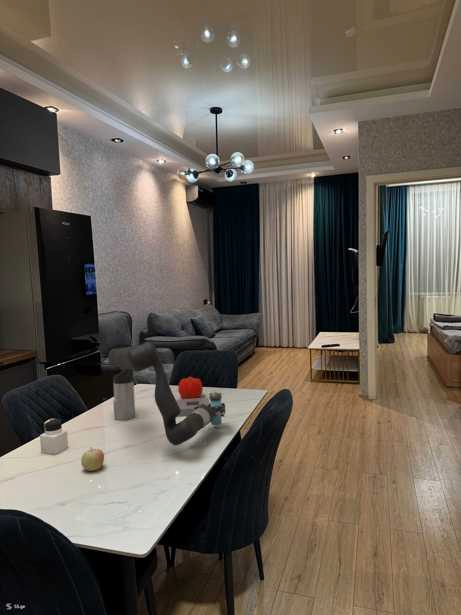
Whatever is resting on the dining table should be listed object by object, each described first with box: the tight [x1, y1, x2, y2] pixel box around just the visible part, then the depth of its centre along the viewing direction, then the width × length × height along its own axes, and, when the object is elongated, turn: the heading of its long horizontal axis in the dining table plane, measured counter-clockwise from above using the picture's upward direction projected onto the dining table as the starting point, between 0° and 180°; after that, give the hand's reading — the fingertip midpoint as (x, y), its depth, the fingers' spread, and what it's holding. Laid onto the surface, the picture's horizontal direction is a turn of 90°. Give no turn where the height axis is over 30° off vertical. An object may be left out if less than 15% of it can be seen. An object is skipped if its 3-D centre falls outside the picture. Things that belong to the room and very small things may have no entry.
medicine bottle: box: [39, 418, 69, 456], centre depth 163 cm, size 7×7×12 cm
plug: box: [208, 391, 223, 426], centre depth 181 cm, size 5×5×14 cm
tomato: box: [177, 376, 204, 399], centre depth 228 cm, size 14×13×10 cm
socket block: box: [176, 397, 210, 418], centre depth 206 cm, size 16×16×4 cm
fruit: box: [80, 447, 105, 472], centre depth 146 cm, size 8×7×8 cm
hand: (218, 404), depth 184 cm, fingers closed on plug, 4 cm apart
